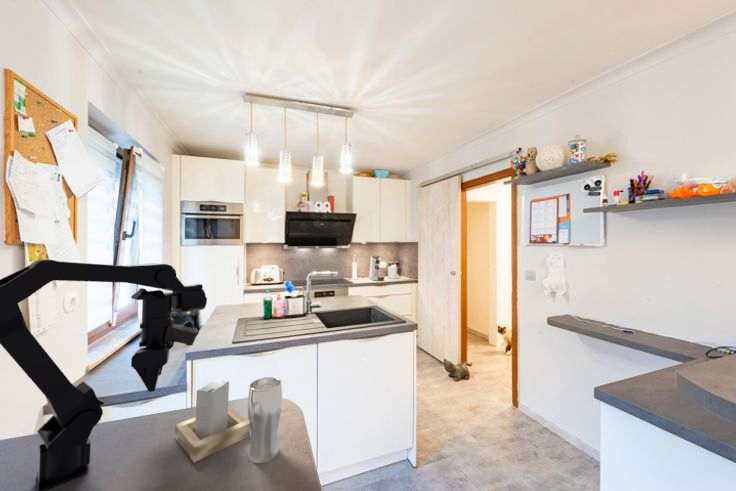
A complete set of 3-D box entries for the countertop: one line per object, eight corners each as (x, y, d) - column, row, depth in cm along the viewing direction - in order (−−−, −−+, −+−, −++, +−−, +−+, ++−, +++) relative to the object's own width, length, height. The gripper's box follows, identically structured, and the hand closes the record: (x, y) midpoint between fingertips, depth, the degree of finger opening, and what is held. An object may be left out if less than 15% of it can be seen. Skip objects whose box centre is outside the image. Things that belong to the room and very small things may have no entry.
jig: (194, 462, 61) (194, 447, 61) (174, 437, 69) (175, 424, 69) (249, 435, 70) (250, 423, 70) (227, 416, 78) (227, 405, 78)
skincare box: (212, 428, 73) (213, 378, 73) (228, 430, 72) (230, 380, 72) (193, 444, 67) (194, 389, 67) (210, 447, 66) (212, 392, 66)
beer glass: (270, 467, 60) (272, 392, 60) (239, 462, 61) (241, 388, 62) (286, 445, 67) (288, 378, 67) (258, 441, 68) (260, 375, 68)
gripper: (194, 321, 66) (193, 392, 66) (197, 307, 82) (196, 363, 82) (131, 327, 61) (129, 404, 60) (148, 310, 77) (146, 370, 77)
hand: (155, 382), depth 70 cm, fingers open, 9 cm apart
